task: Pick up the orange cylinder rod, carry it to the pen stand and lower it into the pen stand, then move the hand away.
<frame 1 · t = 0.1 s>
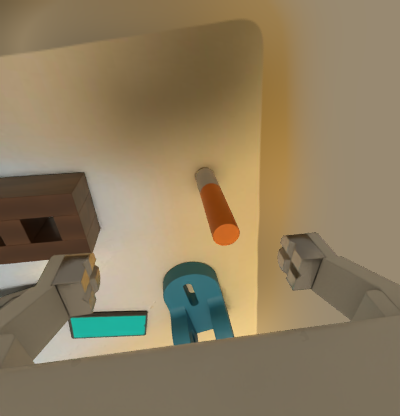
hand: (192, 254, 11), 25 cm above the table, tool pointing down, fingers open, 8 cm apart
pen stand: (32, 207, 36), on the table
camera mount: (194, 292, 51), on the table
orange cylinder rod: (204, 176, 37), on the table
smartphone: (110, 322, 52), on the table
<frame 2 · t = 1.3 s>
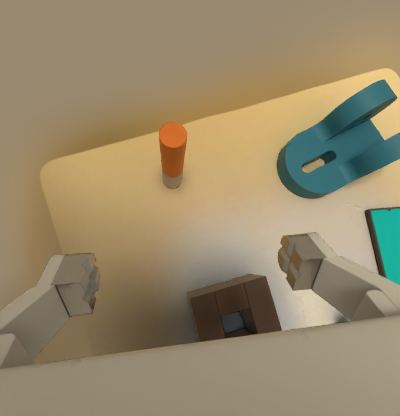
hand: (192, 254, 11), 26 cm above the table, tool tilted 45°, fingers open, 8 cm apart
pen stand: (235, 342, 34), on the table
camera mount: (323, 159, 42), on the table
orange cylinder rod: (172, 179, 38), on the table
smartphone: (394, 254, 40), on the table
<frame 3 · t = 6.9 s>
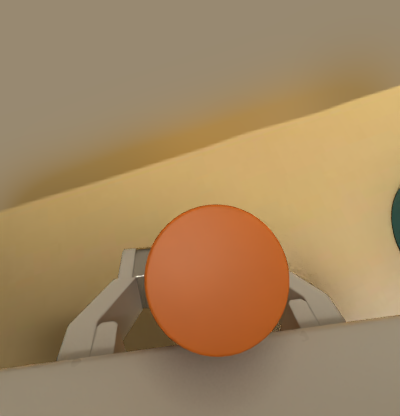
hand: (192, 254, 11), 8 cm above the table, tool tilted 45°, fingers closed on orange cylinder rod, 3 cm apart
orange cylinder rod: (186, 267, 18), on the table, touching gripper
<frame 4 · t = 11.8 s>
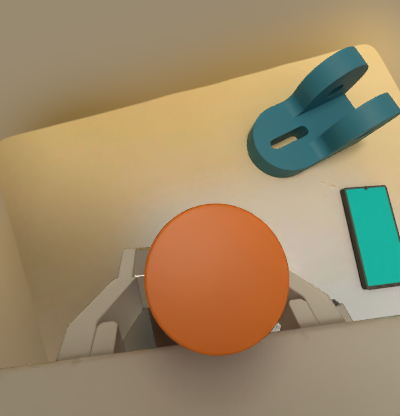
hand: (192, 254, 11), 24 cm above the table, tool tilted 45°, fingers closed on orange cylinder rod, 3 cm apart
pen stand: (198, 328, 32), on the table
camera mount: (297, 137, 40), on the table
orange cylinder rod: (186, 266, 18), point 16 cm above the table, touching gripper
smartphone: (372, 235, 38), on the table
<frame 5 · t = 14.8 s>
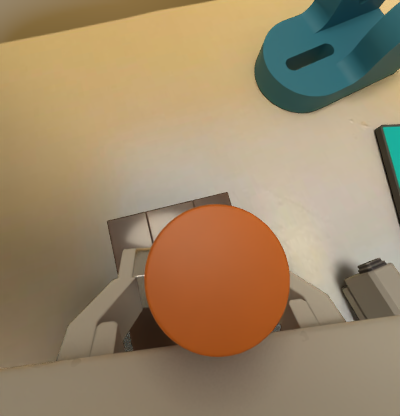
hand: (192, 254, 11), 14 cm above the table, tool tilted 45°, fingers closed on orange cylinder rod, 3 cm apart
pen stand: (191, 300, 24), on the table
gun: (392, 384, 24), on the table
camera mount: (317, 66, 32), on the table
orange cylinder rod: (186, 266, 18), point 7 cm above the table, touching gripper
when the fingers open (8 cm above the table, at t = 17.0 s): orange cylinder rod stays where it is, resting in pen stand.
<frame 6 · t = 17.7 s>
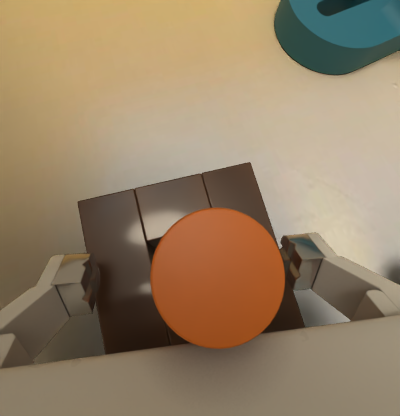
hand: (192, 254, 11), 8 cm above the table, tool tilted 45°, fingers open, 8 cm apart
pen stand: (198, 313, 18), on the table
camera mount: (351, 20, 26), on the table
orange cylinder rod: (187, 266, 19), resting in pen stand
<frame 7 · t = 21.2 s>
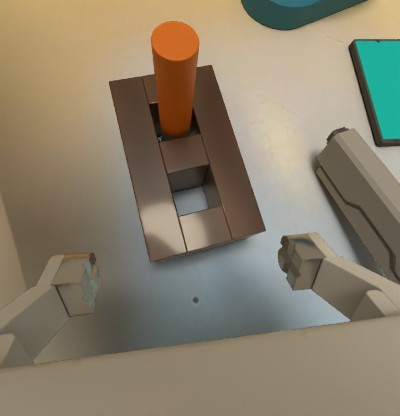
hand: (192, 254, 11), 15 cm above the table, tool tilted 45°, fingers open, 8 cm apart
pen stand: (182, 176, 27), on the table
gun: (359, 251, 28), on the table
orange cylinder rod: (175, 148, 28), resting in pen stand
smartphone: (386, 93, 33), on the table
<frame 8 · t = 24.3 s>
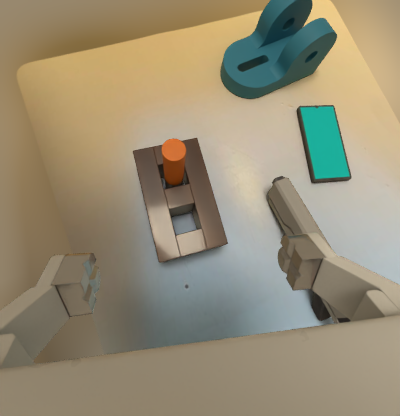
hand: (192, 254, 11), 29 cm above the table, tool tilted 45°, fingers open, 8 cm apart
pen stand: (178, 205, 41), on the table
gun: (296, 255, 42), on the table
camera mount: (262, 69, 49), on the table
orange cylinder rod: (174, 186, 42), resting in pen stand
smartphone: (321, 144, 47), on the table
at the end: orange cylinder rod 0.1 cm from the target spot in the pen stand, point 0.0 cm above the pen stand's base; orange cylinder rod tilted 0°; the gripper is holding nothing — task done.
